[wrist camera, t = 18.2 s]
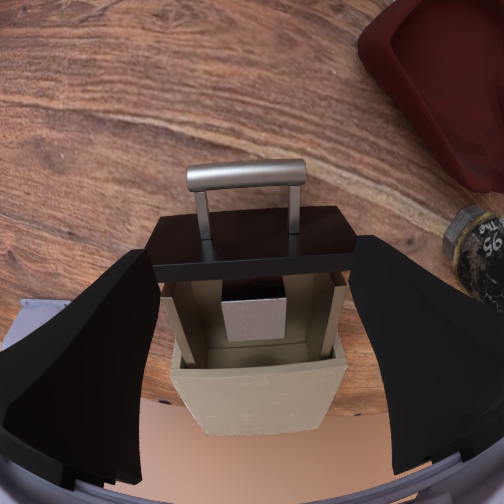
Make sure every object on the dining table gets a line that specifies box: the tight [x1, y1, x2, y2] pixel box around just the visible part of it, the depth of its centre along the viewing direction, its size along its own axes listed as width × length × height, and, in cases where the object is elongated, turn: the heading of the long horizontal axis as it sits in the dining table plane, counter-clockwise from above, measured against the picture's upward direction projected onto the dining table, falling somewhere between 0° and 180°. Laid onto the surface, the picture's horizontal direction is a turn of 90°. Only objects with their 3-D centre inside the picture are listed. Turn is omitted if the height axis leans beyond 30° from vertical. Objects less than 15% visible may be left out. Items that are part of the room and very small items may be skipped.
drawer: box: [144, 159, 357, 369], centre depth 19 cm, size 19×12×6 cm, turn 3°
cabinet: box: [169, 330, 348, 436], centre depth 26 cm, size 16×14×8 cm
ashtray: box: [358, 0, 504, 194], centre depth 11 cm, size 18×16×5 cm
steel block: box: [221, 276, 287, 342], centre depth 19 cm, size 4×4×4 cm
